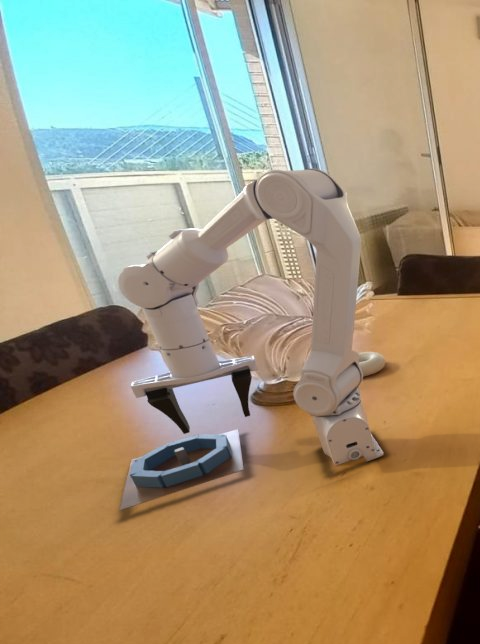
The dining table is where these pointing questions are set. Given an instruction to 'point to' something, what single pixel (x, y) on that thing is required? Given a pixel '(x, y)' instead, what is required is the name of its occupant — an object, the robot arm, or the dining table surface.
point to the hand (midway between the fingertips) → (217, 422)
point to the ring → (186, 472)
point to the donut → (371, 362)
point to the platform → (145, 494)
